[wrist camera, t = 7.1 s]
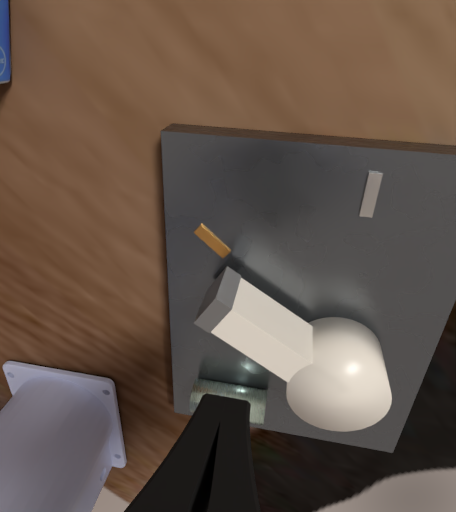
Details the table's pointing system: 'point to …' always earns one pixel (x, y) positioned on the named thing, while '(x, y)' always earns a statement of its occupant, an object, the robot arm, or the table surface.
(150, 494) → the robot arm
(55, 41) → the table surface
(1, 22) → the medicine box
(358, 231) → the base plate
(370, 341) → the white long bulbous piece
